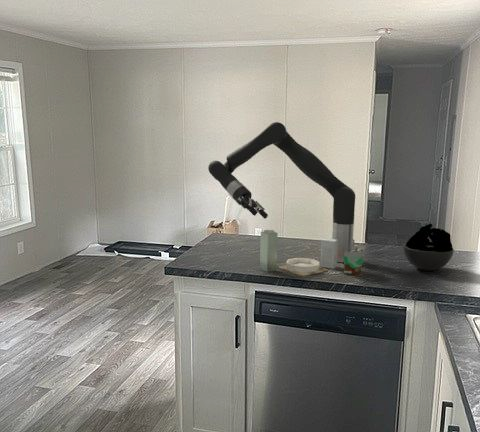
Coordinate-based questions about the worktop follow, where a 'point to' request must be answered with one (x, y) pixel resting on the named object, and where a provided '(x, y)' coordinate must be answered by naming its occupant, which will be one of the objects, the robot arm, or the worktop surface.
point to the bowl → (302, 265)
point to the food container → (353, 261)
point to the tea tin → (268, 250)
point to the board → (302, 273)
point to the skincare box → (329, 253)
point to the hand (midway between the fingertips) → (261, 215)
